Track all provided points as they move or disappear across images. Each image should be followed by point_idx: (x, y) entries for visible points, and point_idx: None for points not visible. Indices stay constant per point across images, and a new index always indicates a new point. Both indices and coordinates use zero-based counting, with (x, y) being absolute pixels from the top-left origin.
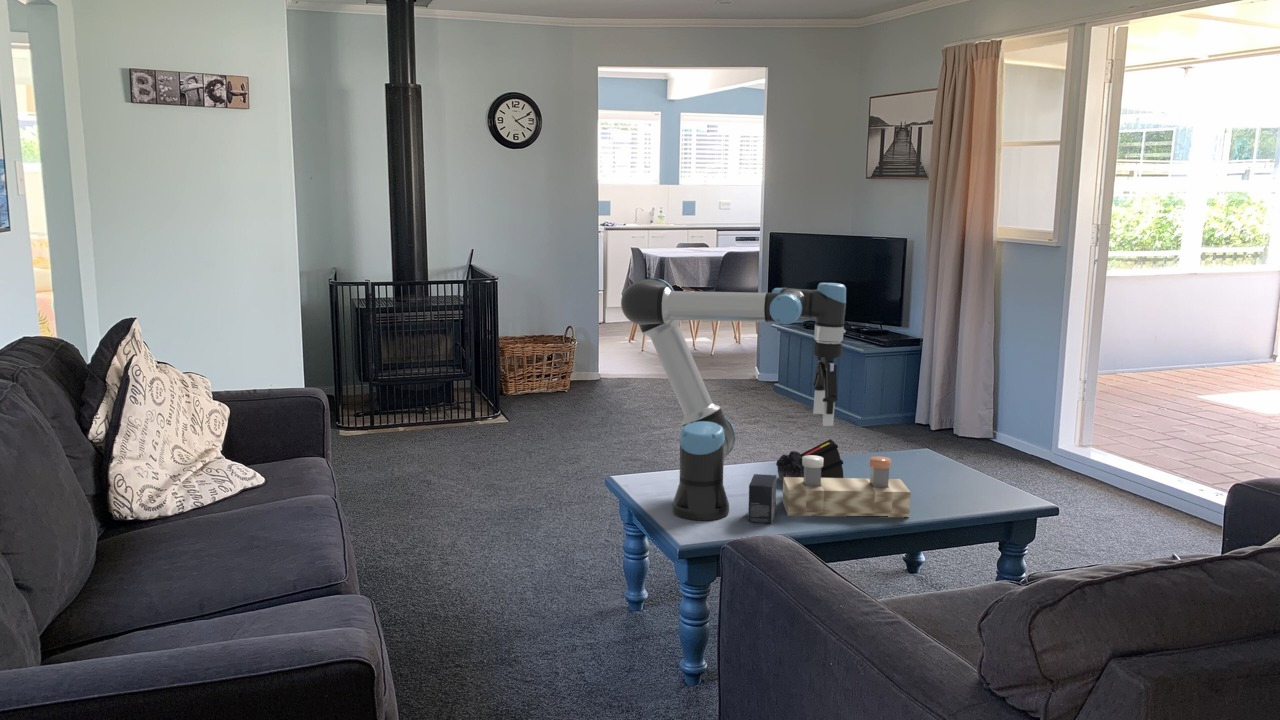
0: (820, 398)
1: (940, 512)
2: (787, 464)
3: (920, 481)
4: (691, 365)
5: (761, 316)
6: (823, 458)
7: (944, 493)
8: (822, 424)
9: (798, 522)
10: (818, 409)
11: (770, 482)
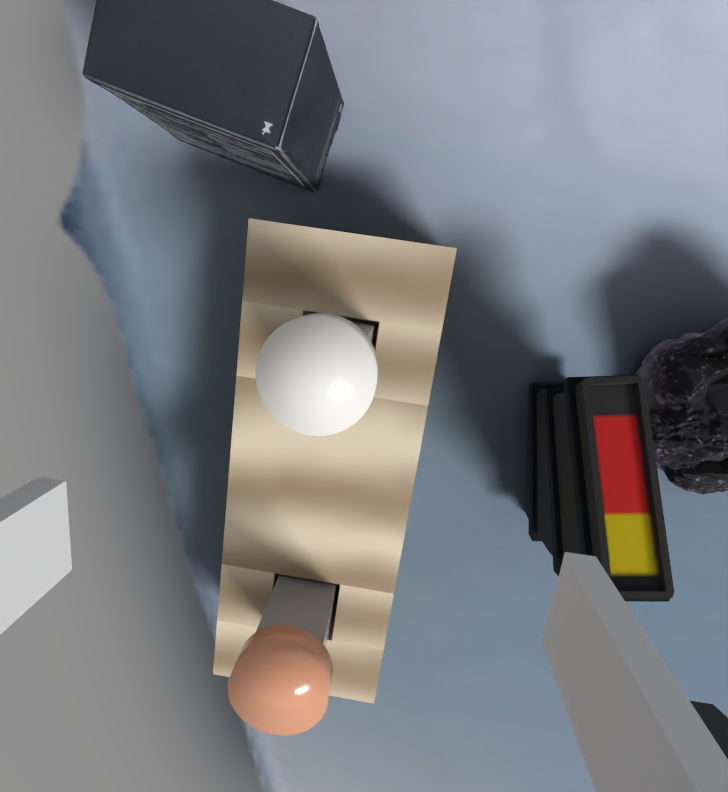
0: (627, 786)
1: None
2: (724, 344)
3: None
4: None
5: None
6: (301, 433)
7: (460, 788)
8: (58, 483)
9: (204, 250)
10: (568, 631)
11: (140, 78)
